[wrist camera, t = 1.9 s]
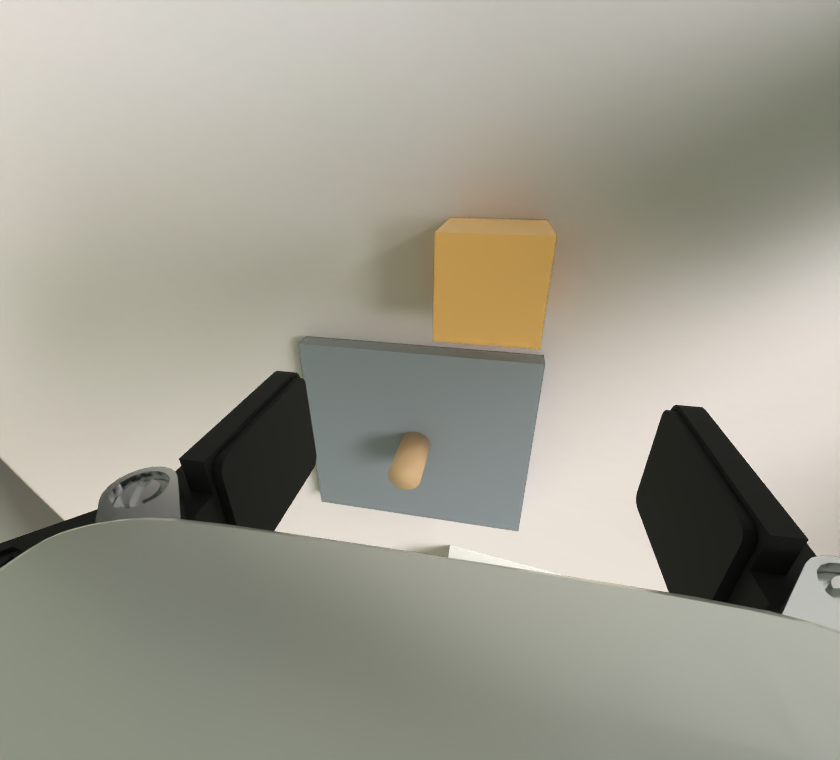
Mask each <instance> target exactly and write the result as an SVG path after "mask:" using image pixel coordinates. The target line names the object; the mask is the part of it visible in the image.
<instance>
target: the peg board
mask: <svg viewBox="0 0 840 760" xmlns="http://www.w3.org/2000/svg"><path fill="white" fill-rule="evenodd" d="M298 347H299V353H300V360H301V367H302V373H303V379H304V380H305V383H306V389H307V395H308V402H309V408H310V415H311V421H312V428H313V434H314V441H315V448H316V454H317V458H316V466H317V473H318V479H319V486H320V493H321V499H322V502H329V503H335V504H342V505H348V506H355V507H362V508H368V509H375V510H381V511H388V512H394V513H401V514H408V515H414V516H421V517H427V518H434V519H440V520H447V521H454V522H460V523H467V524H473V525H480V526H486V527H493V528H500V529H506V530H513V531H518V529H519V523H520V517H521V511H522V505H523V498H524V492H525V486H526V480H527V473H528V467H529V461H530V455H531V449H532V442H533V436H534V430H535V424H536V418H537V411H538V405H539V399H540V393H541V387H542V380H543V374H544V368H545V361H544V355H532V354H520V353H507V352H495V351H482V350H470V349H457V348H445V347H432V346H420V345H407V344H395V343H382V342H370V341H357V340H345V339H332V338H320V337H305V338H304V339H303V340H302V341H301V342H300V343H299V344H298Z"/></svg>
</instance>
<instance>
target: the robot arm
mask: <svg viewBox="0 0 840 760" xmlns="http://www.w3.org/2000/svg"><path fill="white" fill-rule="evenodd" d="M316 458H317V454H316V448H315V441H314V434H313V428H312V421H311V415H310V408H309V402H308V395H307V389H306V383H305V380H304V379H303V378H300V376H299V374H297V373H294V372H283V371H276V372H274V373H273V374H272V375H271V376H270V377H269V378H268V379H266V380H265V381H264V382H263V383H262V384H261V385H260V386H259V387H258V388H257V389H255V390H254V391H253V392H252V393H251V394H250V395H249V396H248V397H247V398H246V399H244V400H243V401H242V402H241V403H240V404H239V405H238V406H237V407H236V408H235V409H233V410H232V411H231V412H230V413H229V414H228V415H227V416H226V417H225V418H224V419H222V420H221V421H220V422H219V423H218V424H217V425H216V426H215V427H214V428H212V429H211V430H210V431H209V432H208V433H207V434H206V435H205V436H204V437H203V438H201V439H200V440H199V441H198V442H197V443H196V444H195V445H194V446H193V447H192V448H190V449H189V450H188V451H187V452H186V453H185V454H184V455H183V456H182V457H181V458H179V460H180V463H181V467H180V468H179V469H178V470H176V471H173V470H172V469H170V468H166V467H149V468H144V469H140V470H137V471H134V472H132V473H129V474H127V475H125V476H123V477H121V478H119V479H118V480H116V481H115V482H114V483H112V484H111V485H110V486H108V487H107V489H106V490H105V491H104V492H103V493H102V495H101V497H100V500H99V504H98V509H97V510H95V511H92V512H89V513H86V514H83V515H80V516H77V517H74V518H72V519H69V520H66V521H63V522H60V523H57V524H54V525H52V526H49V527H46V528H43V529H40V530H38V531H34V532H32V533H29V534H26V535H23V536H20V537H17V538H15V539H12V540H9V541H6V542H3V543H0V760H840V557H837V556H826V555H820V556H816V555H815V553H814V552H813V551H812V550H811V548H810V547H809V546H808V544H807V541H808V538H807V537H806V536H805V535H804V533H803V532H802V531H801V530H800V528H799V527H798V526H797V525H796V523H795V522H794V521H793V519H792V518H791V517H790V516H789V514H788V513H787V512H786V511H785V509H784V508H783V507H782V506H781V504H780V503H779V502H778V501H777V499H776V498H775V497H774V496H773V494H772V493H771V492H770V491H769V489H768V488H767V487H766V486H765V484H764V483H763V482H762V481H761V479H760V478H759V477H758V475H757V474H756V473H755V472H754V470H753V469H752V468H751V467H750V465H749V464H748V463H747V462H746V460H745V459H744V458H743V457H742V455H741V454H740V453H739V452H738V450H737V449H736V448H735V447H734V445H733V444H732V443H731V442H730V440H729V439H728V438H727V436H726V435H725V434H724V433H723V431H722V430H721V429H720V428H719V426H718V425H717V424H716V423H715V421H714V420H713V419H712V418H711V416H710V415H709V414H708V413H707V411H706V410H705V409H704V408H703V407H693V406H682V405H675V406H673V407H672V409H671V410H665V411H664V412H663V414H662V417H661V420H660V423H659V426H658V429H657V432H656V435H655V438H654V441H653V445H652V448H651V451H650V454H649V457H648V460H647V463H646V466H645V469H644V473H643V476H642V479H641V482H640V485H639V488H638V491H637V496H636V504H637V508H638V511H639V514H640V516H641V519H642V522H643V524H644V527H645V530H646V532H647V535H648V538H649V540H650V543H651V546H652V548H653V551H654V554H655V556H656V559H657V562H658V564H659V567H660V570H661V572H662V575H663V578H664V580H665V583H666V586H667V589H668V591H669V593H668V592H662V591H656V590H650V589H644V588H638V587H632V586H626V585H620V584H613V583H607V582H601V581H595V580H588V579H582V578H576V577H570V576H563V575H557V574H551V573H544V572H538V571H532V570H526V569H519V568H513V567H507V566H500V565H494V564H488V563H481V562H475V561H468V560H462V559H455V558H449V557H442V556H436V555H429V554H423V553H416V552H410V551H403V550H397V549H390V548H384V547H377V546H371V545H364V544H357V543H350V542H344V541H337V540H330V539H323V538H317V537H310V536H303V535H296V534H290V533H283V532H276V531H274V530H275V529H276V527H277V526H278V524H279V522H280V521H281V519H282V518H283V516H284V514H285V513H286V511H287V510H288V508H289V506H290V505H291V503H292V502H293V500H294V499H295V497H296V495H297V494H298V492H299V491H300V489H301V487H302V486H303V484H304V483H305V481H306V480H307V478H308V476H309V475H310V473H311V472H312V470H313V468H314V466H315V464H316Z"/></svg>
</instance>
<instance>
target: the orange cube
mask: <svg viewBox="0 0 840 760" xmlns="http://www.w3.org/2000/svg"><path fill="white" fill-rule="evenodd" d="M556 239H557V235H556V233H555V232H554V230H553V228H552V227H551V225H550V223H549V221H548V220H527V219H488V218H449V219H448V220H447V221H446V222H445V223H444V224H443V225H442V226H441V227H440V228H439V229H437V230H436V231H435V246H434V305H433V341H438V342H451V343H464V344H477V345H490V346H503V347H516V348H528V349H540V345H541V338H542V331H543V325H544V318H545V312H546V305H547V298H548V292H549V285H550V279H551V272H552V265H553V259H554V252H555V245H556Z"/></svg>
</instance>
